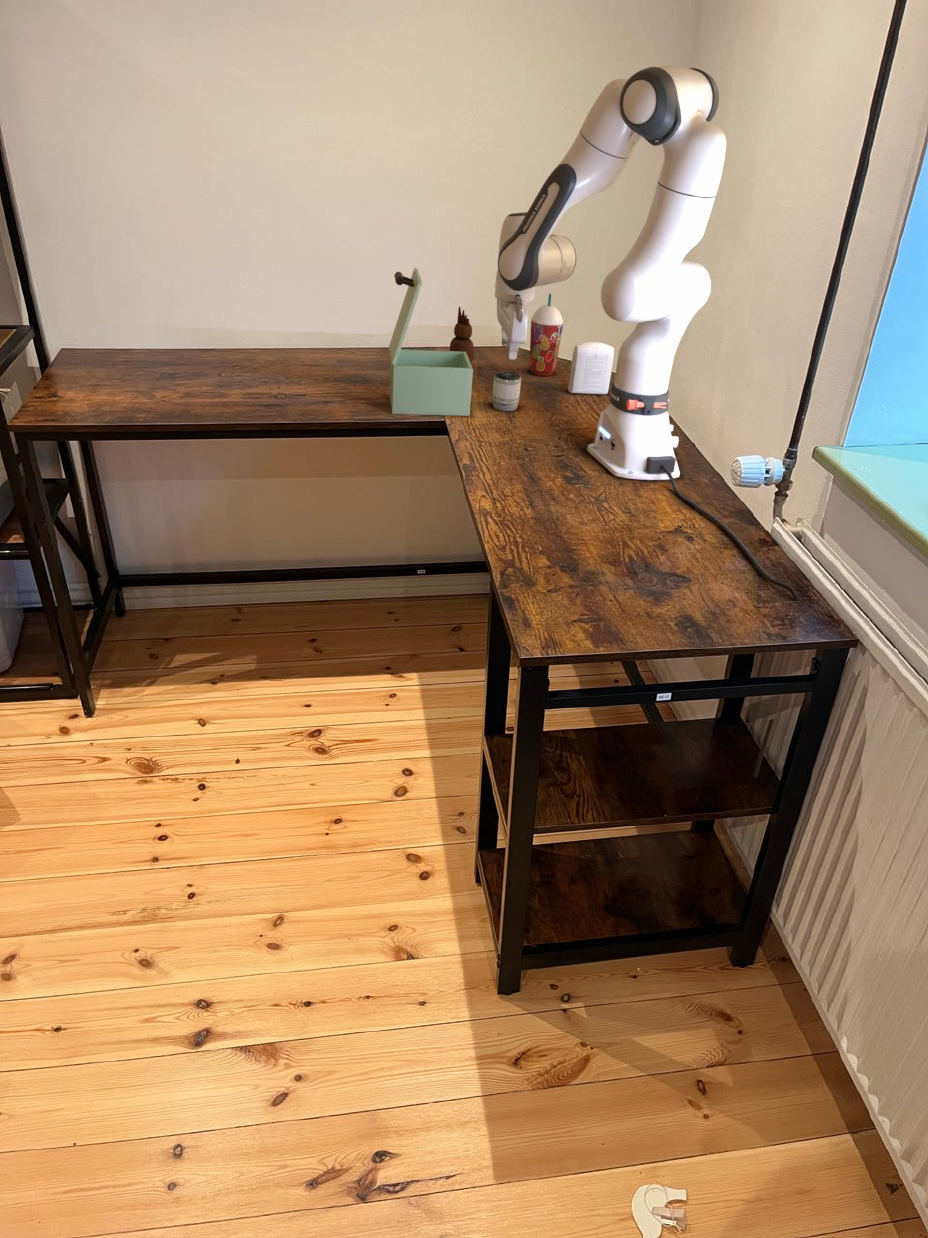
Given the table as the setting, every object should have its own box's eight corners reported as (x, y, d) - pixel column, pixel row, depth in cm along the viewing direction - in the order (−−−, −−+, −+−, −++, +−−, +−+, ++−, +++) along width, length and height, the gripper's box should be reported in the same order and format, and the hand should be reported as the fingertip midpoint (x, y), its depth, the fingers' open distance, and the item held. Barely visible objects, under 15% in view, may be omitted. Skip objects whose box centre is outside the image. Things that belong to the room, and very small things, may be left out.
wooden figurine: (445, 363, 252) (448, 305, 245) (465, 362, 255) (469, 304, 247) (455, 371, 247) (459, 311, 240) (476, 369, 249) (480, 310, 242)
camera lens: (486, 405, 226) (488, 372, 222) (506, 401, 229) (509, 368, 225) (503, 413, 222) (506, 379, 218) (523, 409, 225) (527, 375, 221)
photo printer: (605, 389, 242) (612, 340, 236) (610, 395, 239) (617, 345, 232) (566, 388, 241) (572, 339, 234) (569, 394, 237) (576, 344, 231)
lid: (417, 268, 214) (396, 261, 212) (422, 282, 202) (399, 274, 201) (392, 347, 222) (371, 340, 221) (395, 364, 211) (373, 357, 209)
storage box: (462, 396, 230) (465, 351, 225) (469, 415, 219) (473, 368, 213) (389, 394, 228) (390, 348, 222) (392, 413, 216) (393, 366, 211)
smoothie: (563, 372, 252) (572, 294, 242) (548, 379, 246) (557, 299, 236) (535, 365, 256) (543, 288, 246) (520, 372, 250) (527, 293, 240)
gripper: (537, 302, 204) (530, 366, 211) (521, 279, 221) (515, 340, 228) (508, 300, 203) (501, 365, 210) (494, 278, 220) (489, 339, 227)
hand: (508, 352), depth 219 cm, fingers open, 8 cm apart
